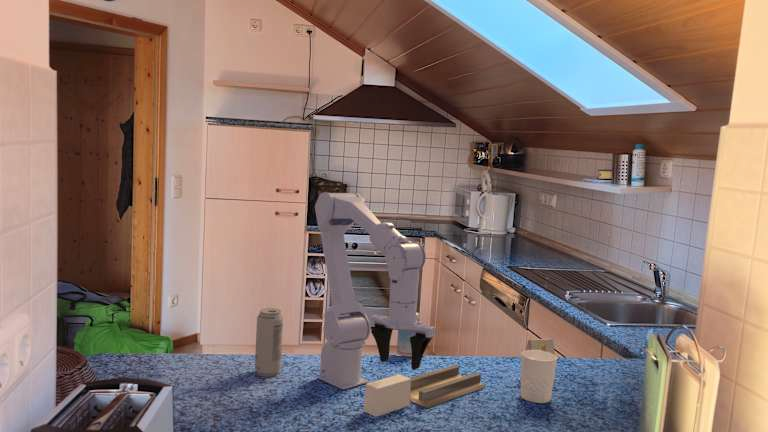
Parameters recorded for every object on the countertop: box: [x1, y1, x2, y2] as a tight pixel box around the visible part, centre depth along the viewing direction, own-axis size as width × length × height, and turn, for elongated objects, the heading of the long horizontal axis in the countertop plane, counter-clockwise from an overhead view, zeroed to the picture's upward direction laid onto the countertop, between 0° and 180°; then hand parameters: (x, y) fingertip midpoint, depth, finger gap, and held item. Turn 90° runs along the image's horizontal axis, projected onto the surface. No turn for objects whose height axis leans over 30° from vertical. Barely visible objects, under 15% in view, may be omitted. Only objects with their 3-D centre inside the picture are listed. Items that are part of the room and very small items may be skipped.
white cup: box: [520, 350, 558, 404], centre depth 148 cm, size 8×8×10 cm
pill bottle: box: [396, 311, 420, 358], centre depth 174 cm, size 6×6×11 cm
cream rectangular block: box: [363, 374, 411, 418], centre depth 137 cm, size 4×10×6 cm, turn 135°
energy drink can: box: [254, 307, 284, 377], centre depth 153 cm, size 6×6×15 cm
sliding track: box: [410, 364, 484, 409], centre depth 149 cm, size 10×20×3 cm, turn 135°
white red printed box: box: [524, 338, 556, 355], centre depth 161 cm, size 4×7×10 cm, turn 107°
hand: (399, 364), depth 136 cm, fingers open, 7 cm apart
